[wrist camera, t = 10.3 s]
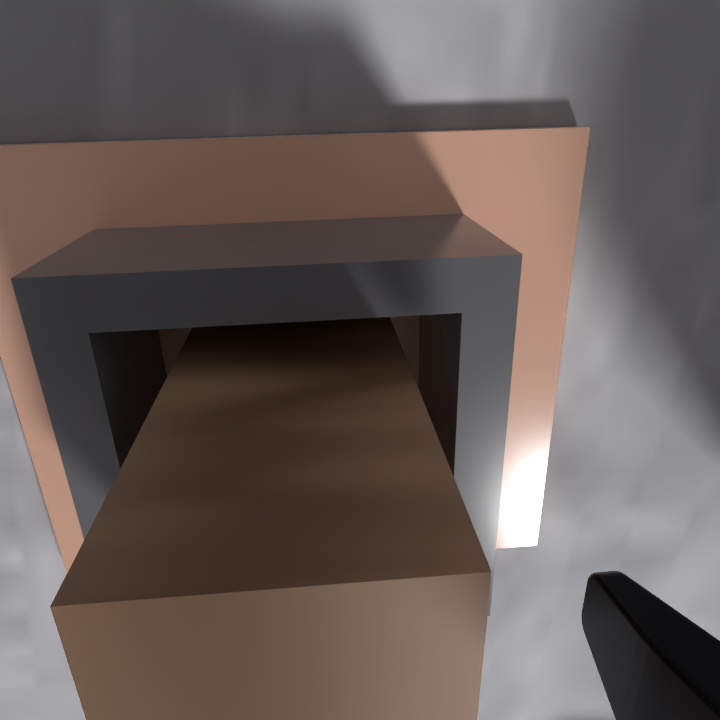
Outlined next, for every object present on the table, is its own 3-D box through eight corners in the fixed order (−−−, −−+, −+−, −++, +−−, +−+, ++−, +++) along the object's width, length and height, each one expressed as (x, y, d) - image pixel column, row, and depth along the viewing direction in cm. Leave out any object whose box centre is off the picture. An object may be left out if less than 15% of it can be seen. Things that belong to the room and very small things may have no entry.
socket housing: (578, 126, 13) (702, 135, 9) (530, 532, 18) (596, 658, 14) (-47, 145, 12) (-226, 166, 8) (77, 569, 17) (5, 717, 13)
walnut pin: (383, 300, 14) (491, 572, 6) (383, 453, 16) (466, 822, 8) (201, 308, 14) (49, 606, 6) (222, 463, 16) (131, 858, 7)
